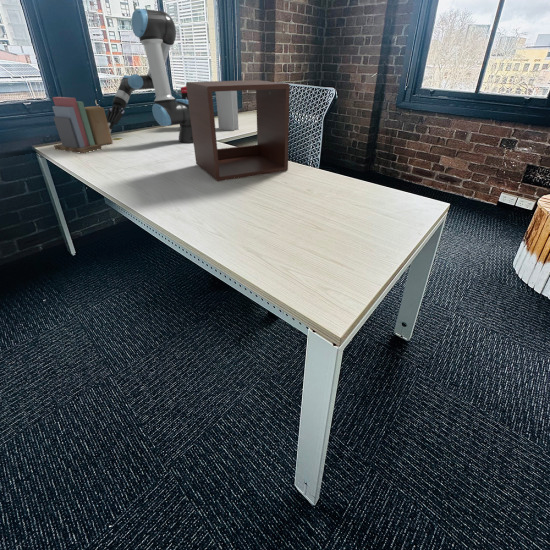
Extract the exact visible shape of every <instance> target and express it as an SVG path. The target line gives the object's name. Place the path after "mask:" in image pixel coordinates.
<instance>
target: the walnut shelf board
mask: <svg viewBox="0 0 550 550" xmlns="http://www.w3.org/2000/svg"><path fill="white" fill-rule="evenodd" d="M53 148H54V150H57V149H58V150H59V151H64V150H65V151H66V152H70V151H72V152H73V153H77V152H80V153H79V154H87V153H86V152H88V153H90V152H89V151H92V152H94V151H93V150H96V151H98V150H97V149H100V150H102V149H101V148H102V145H91V146H85V147H82V148H79V147H78V148H73V147H66V146H63V145H62V143H58V144H54V145H53ZM58 150H57V151H58ZM72 152H71V153H72Z"/></svg>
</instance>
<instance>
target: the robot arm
mask: <svg viewBox="0 0 550 550" xmlns="http://www.w3.org/2000/svg"><path fill="white" fill-rule="evenodd" d="M131 28H132V32H133V34H134V35H135V37H137V38H139V42H140V44H141V45H143V47H144V51H145V54H146V55H145V56H146V59H147V63H148V71H147V74H144V75H142V74H141V75H140V74H136V73H135V74H131V75H126V74H125V75H123V76H122V78H121V81H120V83H119V85H118V88H117V90H116V92H115V95H114V98H113V99H112V104H113V105H112V106H111V107H107V114H106V118H107V122H108V126H109V130H110V133H112V130H113V128H114V126H115V125H118V124H119V123H120V120H121V119H122V118H123V116H124V115H125V114H126V111H125V109H126V107H127V105H128V103H129V100H130V97H131V95H132V94H133V93H132V92H135V91H139V90H153V91H154V93H155V99H153V101H154V104H153V105H152V107H151V108H152V109H151V111H152V115H153V118H154V119H155V121H156V122H157V124H158V125H160V126H162V127H166V126H168V127H170V126H176V125H179V131H178V141H179V143H186V144H194V143H193V135H192V127H191V119H190V111H189V104H188V100H184V99H182V98H176V97H174V96H172V91H171V86H170V81H169V77H168V73H167V68H166V62H167V59H168V56H169V53H170V49H171V46H173V45H174V44H175V41H176V37H177V29H176V24H175V22H174V19H173V18H172V17H171V15H169V14H168V13H167V12H165V11H163V10H154V9H147V8H136V9H135V10H134V11H133V13H132V16H131Z"/></svg>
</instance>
